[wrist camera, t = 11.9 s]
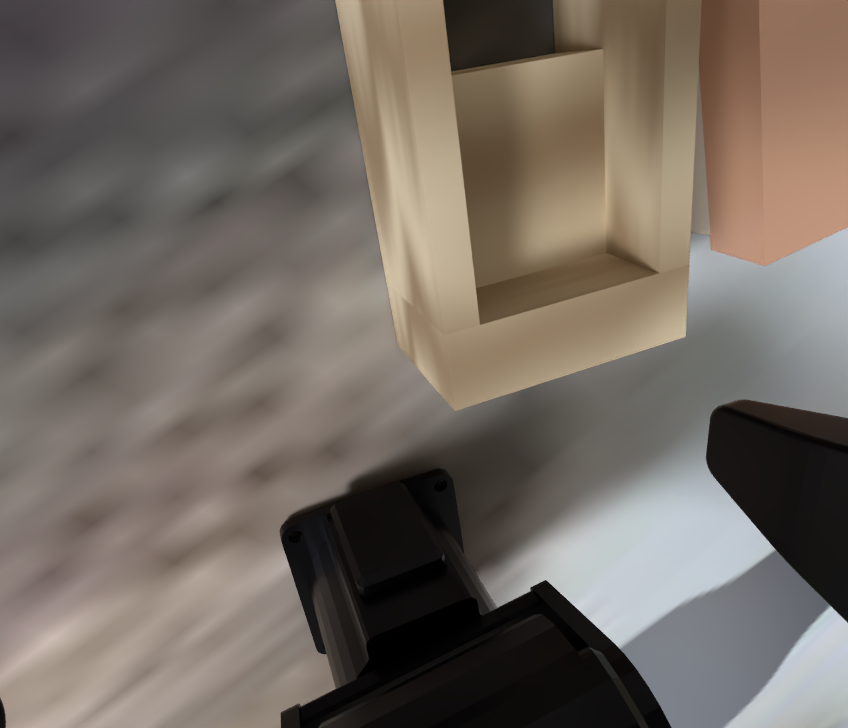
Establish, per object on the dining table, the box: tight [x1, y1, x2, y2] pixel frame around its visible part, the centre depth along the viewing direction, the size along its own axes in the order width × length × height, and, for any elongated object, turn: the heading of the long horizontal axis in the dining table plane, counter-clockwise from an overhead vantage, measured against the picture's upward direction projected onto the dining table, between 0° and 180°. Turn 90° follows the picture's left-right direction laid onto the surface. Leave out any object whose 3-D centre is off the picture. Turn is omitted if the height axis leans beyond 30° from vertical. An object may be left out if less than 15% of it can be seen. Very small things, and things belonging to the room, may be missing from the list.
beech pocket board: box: [335, 0, 702, 411], centre depth 16 cm, size 16×8×5 cm, turn 8°
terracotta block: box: [699, 0, 848, 266], centre depth 21 cm, size 9×4×2 cm, turn 17°
